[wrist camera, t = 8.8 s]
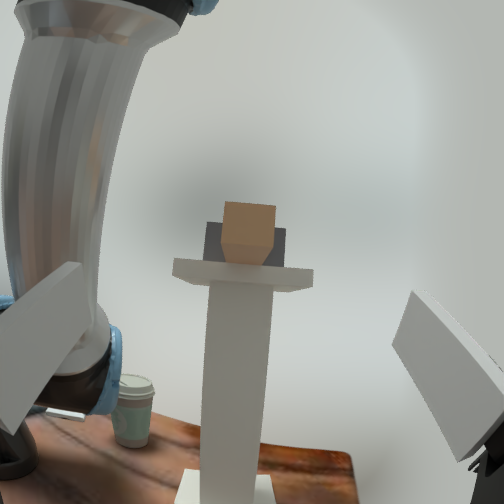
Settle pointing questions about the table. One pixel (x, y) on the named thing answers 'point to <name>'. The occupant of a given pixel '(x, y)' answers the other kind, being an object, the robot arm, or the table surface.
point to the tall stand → (234, 377)
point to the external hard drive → (65, 414)
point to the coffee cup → (133, 411)
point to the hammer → (246, 236)
